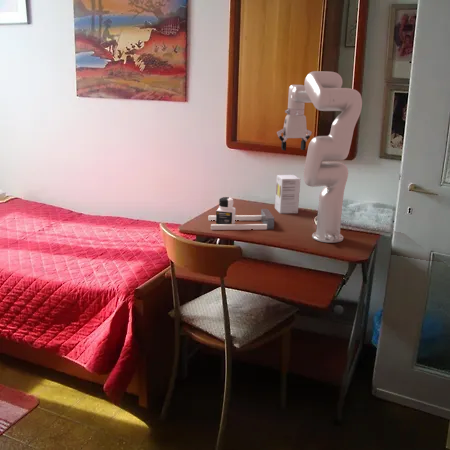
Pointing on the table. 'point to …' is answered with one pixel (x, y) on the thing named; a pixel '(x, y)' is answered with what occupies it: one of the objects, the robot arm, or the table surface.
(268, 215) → the end stop
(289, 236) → the table surface
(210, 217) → the guide rails
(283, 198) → the supplement box
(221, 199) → the medicine bottle
